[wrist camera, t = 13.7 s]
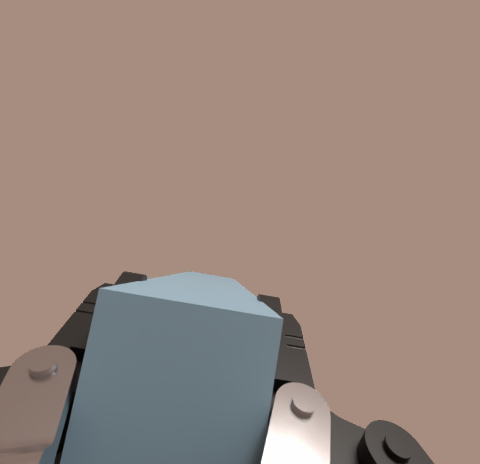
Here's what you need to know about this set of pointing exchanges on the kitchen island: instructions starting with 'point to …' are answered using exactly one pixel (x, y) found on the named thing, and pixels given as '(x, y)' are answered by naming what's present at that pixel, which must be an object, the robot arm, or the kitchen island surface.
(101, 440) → the slate block
